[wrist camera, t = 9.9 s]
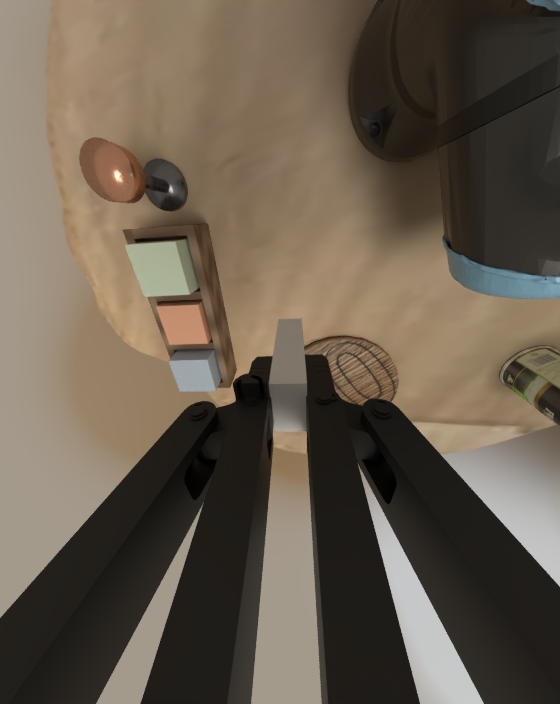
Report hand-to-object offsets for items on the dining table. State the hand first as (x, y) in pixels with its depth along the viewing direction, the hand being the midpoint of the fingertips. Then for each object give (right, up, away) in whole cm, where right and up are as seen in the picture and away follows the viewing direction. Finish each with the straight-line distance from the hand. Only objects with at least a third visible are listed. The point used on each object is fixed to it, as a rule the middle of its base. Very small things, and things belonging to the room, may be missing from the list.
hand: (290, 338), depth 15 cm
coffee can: (+50, -4, +30) cm, 58 cm away
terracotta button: (-16, +5, +25) cm, 30 cm away
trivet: (+12, -8, +36) cm, 39 cm away
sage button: (-17, +12, +19) cm, 28 cm away
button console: (-16, +7, +28) cm, 33 cm away
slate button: (-16, -3, +28) cm, 32 cm away
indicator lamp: (-17, +23, +18) cm, 34 cm away
